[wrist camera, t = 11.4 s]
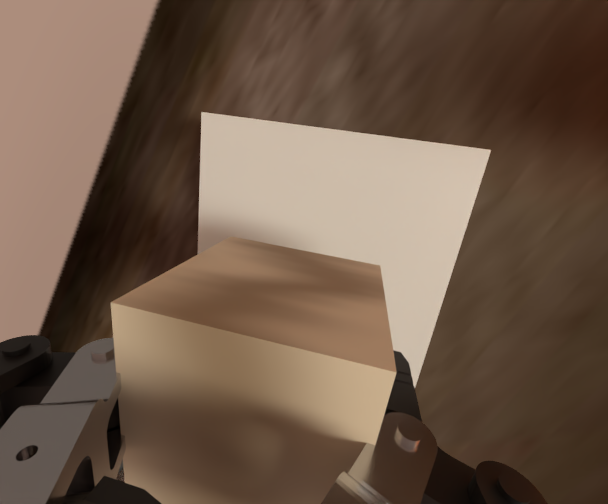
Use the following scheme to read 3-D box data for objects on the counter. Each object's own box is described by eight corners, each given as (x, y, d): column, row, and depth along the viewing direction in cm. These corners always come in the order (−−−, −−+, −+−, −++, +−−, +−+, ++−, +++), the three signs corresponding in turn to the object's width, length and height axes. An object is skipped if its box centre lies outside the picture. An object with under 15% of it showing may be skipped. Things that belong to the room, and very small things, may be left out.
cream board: (468, 152, 16) (491, 150, 13) (398, 388, 21) (403, 423, 18) (227, 120, 18) (201, 112, 15) (215, 341, 23) (194, 366, 20)
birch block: (380, 265, 11) (396, 372, 5) (350, 391, 13) (339, 568, 7) (230, 236, 12) (110, 302, 6) (223, 358, 14) (125, 493, 8)
